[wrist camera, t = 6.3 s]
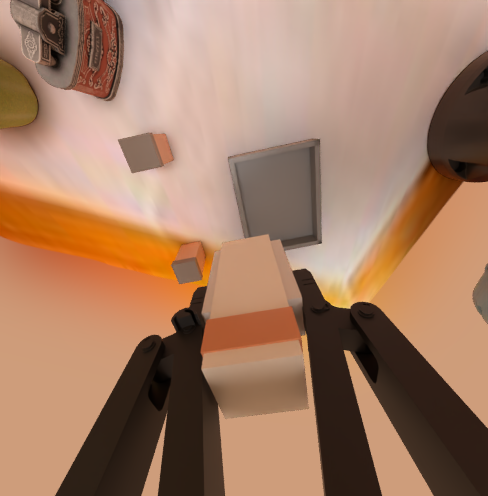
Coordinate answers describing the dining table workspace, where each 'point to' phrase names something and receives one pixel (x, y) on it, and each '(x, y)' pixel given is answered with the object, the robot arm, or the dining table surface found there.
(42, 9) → the lighter
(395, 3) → the dining table surface
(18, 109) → the plant pot
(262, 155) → the tray
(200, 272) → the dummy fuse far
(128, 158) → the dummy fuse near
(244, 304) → the block
